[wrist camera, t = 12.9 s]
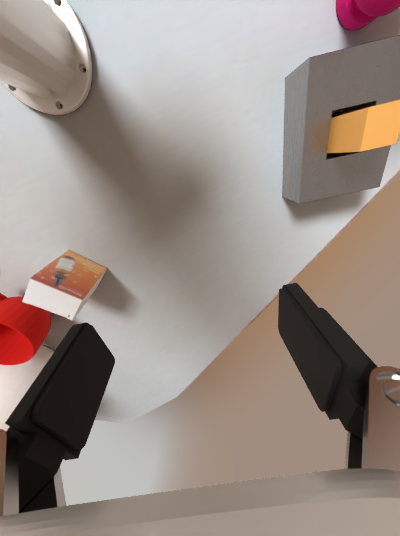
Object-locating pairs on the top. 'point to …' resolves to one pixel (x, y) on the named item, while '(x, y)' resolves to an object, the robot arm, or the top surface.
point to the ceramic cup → (21, 330)
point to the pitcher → (19, 382)
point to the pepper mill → (363, 11)
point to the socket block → (319, 119)
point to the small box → (64, 285)
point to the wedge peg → (365, 128)
